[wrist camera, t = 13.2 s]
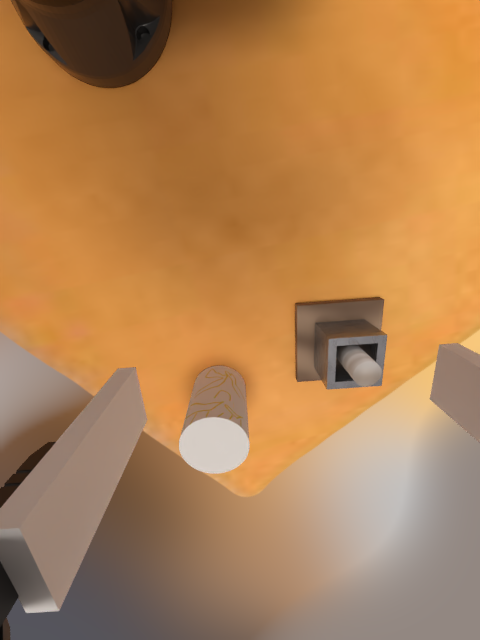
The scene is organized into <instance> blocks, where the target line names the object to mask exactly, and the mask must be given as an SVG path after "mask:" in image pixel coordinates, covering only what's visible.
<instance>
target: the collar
mask: <svg viewBox="0 0 480 640" xmlns="http://www.w3.org/2000/svg"><path fill="white" fill-rule="evenodd" d="M386 341H387V334H385V333H384V332H382V331H381V330H379V329H378V328H377V327H375V326H374V325H372V324H371V323H369V322H368V321H366V320H365V319H359V320H345V321H331V322H317V323H315V339H314V368H315V370H316V371H317V373H318V375H319V377H320V378H321V380H322V382H323V384H324V385H325V387H326V389H340V388H354V387H364V386H360V385H358V384H357V383H356V382H355V381H354V380H353V378H352V377H351V376H350V375H349V373H348V372H347V371H346V370H345V368H344V367H343V366H342V364H341V363H340V362H339V361H338V359H336V351H337V346H344V345H358V346H359V347H360V348H361V349H362V350H363V351H365V352H366V353H367V354H368V355H369V356H370V357H371V358H372V359H373V360H374V361H375V362H376V363H377V364H378V365H379V366H380V367H381V370H382V374H381V377H380V379H379V380H378V381H377V382H376V383H375V384H373V385H371V386H382V377H383V368H384V359H385V350H386ZM366 387H369V386H366Z"/></svg>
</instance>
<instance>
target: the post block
mask: <svg viewBox="0 0 480 640" xmlns="http://www.w3.org/2000/svg"><path fill="white" fill-rule="evenodd" d="M383 306H384V299H382V298H380V297H378V298H365V299H351V300H338V301H324V302H311V303H297V304H295V338H296V379H297V382H302V381H316V380H321V378H320V377H319V375H318V373H317V371H316V370H315V368H314V339H315V323H317V322H331V321H345V320H359V319H365V320H366V321H368V322H369V323H371V324H372V325H374V326H375V327H377V328H378V329H379V330H381V326H382V316H383ZM336 359H338V361H339V362H340V363H341V364H342V366H343V367H344V368H345V370H346V371H347V372H348V373H349V375H350V376H351V377H352V378H353V380H354V381H355V382H356V383H357V384H358V385H360V386H364V387H366V386H371V385H373V384H375V383H376V382H377V381H378V380H379V379H380V377H381V374H382V370H381V367H380V366H379V365H378V364H377V363H376V362H375V361H374V360H373V359H372V358H371V357H370V356H369V355H368V354H367V353H366V352H365V351H363V350H362V349H361V348H360V347H359V346H358V345H344V346H337V351H336Z"/></svg>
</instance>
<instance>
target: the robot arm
mask: <svg viewBox="0 0 480 640" xmlns="http://www.w3.org/2000/svg"><path fill="white" fill-rule="evenodd" d="M11 2H12V4H13V5H14V7H15V9H16V11H17V13H18V15H19V16H20V18H21V20H22V22H23V24H24V25H25V27H26V28H27V30H28V31H29V33H30V34H31V36H32V37H33V38H34V40H35V41H36V42H37V44H38V45H39V46H40V47H41V48H42V49H43V50H44V51H45V52H46V53H47V54H48V55H49V56H50V57H51V58H52V59H53V60H54V61H55V62H56V63H57V64H58V65H59V66H60V67H61V68H63V69H64V70H65V71H66V72H68V73H69V74H70V75H72V76H73V77H75V78H77V79H79V80H81V81H83V82H85V83H87V84H90V85H94V86H98V87H106V88H113V87H120V86H124V85H128V84H130V83H132V82H134V81H136V80H138V79H139V78H141V77H142V76H143V75H145V74H146V73H147V72H148V71H149V70H150V69H151V68H152V67H153V65H154V64H155V63H156V61H157V60H158V58H159V57H160V55H161V53H162V51H163V49H164V46H165V44H166V41H167V38H168V34H169V30H170V24H171V16H172V0H11ZM430 400H431V401H432V402H434V403H435V404H436V405H437V406H438V407H439V408H440V409H442V410H443V411H444V412H445V413H446V414H447V415H448V416H450V417H451V418H452V419H453V420H454V421H455V422H456V423H458V424H459V425H460V426H461V427H462V428H463V429H464V430H466V431H467V432H468V433H469V434H470V435H471V436H472V437H474V438H475V439H476V440H477V441H478V442H479V443H480V355H479V354H477V353H475V352H473V351H471V350H469V349H467V348H465V347H464V346H462V345H460V344H458V343H454V344H441V345H439V350H438V356H437V361H436V368H435V373H434V379H433V384H432V391H431V395H430ZM146 421H147V417H146V412H145V408H144V403H143V399H142V394H141V390H140V385H139V381H138V376H137V372H136V367H133V368H120V369H117V370H116V372H115V373H114V374H113V375H112V376H111V377H110V379H109V380H108V381H107V382H106V383H105V385H104V386H103V387H102V388H101V389H100V391H99V392H98V393H97V394H96V395H95V396H94V398H93V399H92V400H91V401H90V402H89V404H88V405H87V406H86V407H85V409H84V410H83V411H82V412H81V413H80V414H79V416H78V417H77V418H76V419H75V420H74V421H73V423H72V424H71V425H70V426H69V427H68V429H67V430H66V431H65V432H64V433H63V434H62V436H61V437H60V438H59V439H58V441H57V442H48V443H47V444H45V445H44V446H43V447H41V448H40V449H39V450H37V451H36V452H34V453H33V454H32V455H30V456H29V457H28V459H27V460H26V461H25V462H24V463H23V464H22V465H21V466H20V468H19V469H18V470H17V472H16V474H13V475H12V476H11V477H10V478H9V480H8V481H7V482H6V483H5V486H4V487H1V489H0V640H10V626H9V623H8V620H7V618H6V617H7V615H8V614H9V612H10V610H11V608H12V607H13V605H14V603H15V602H16V600H17V598H18V599H19V600H20V602H21V604H22V606H23V608H24V610H25V611H26V613H33V612H48V611H59V610H60V607H61V605H62V603H63V601H64V599H65V597H66V594H67V592H68V590H69V588H70V586H71V584H72V582H73V579H74V577H75V575H76V573H77V571H78V569H79V566H80V564H81V562H82V559H83V558H84V556H85V553H86V551H87V549H88V547H89V544H90V543H91V540H92V538H93V536H94V534H95V532H96V529H97V527H98V525H99V523H100V521H101V519H102V517H103V515H104V512H105V510H106V508H107V506H108V504H109V502H110V499H111V497H112V495H113V493H114V491H115V489H116V486H117V484H118V482H119V480H120V478H121V475H122V473H123V471H124V469H125V467H126V465H127V463H128V460H129V458H130V456H131V454H132V452H133V450H134V447H135V445H136V443H137V441H138V439H139V436H140V434H141V432H142V430H143V428H144V426H145V424H146Z"/></svg>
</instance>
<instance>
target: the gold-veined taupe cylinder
mask: <svg viewBox="0 0 480 640" xmlns="http://www.w3.org/2000/svg"><path fill="white" fill-rule="evenodd" d="M179 450H180V453H181V455H182V457H183V459H184V460H185V461H186V462H187V463H188V464H189V465H190V466H191V467H193V468H195V469H197V470H199V471H202V472H206V473H224V472H228V471H230V470H233V469H235V468H236V467H238V466H239V465H240V464H241V463H242V462H243V461H244V460H245V459H246V457H247V455H248V452H249V432H248V416H247V401H246V386H245V382H244V379H243V378H242V376H241V375H240V374H239V373H238V372H237V371H236V370H234V369H232V368H230V367H227V366H212V367H209V368H207V369H205V370H204V371H202V372H201V373H200V374H199V375H198V377H197V378H196V380H195V383H194V387H193V391H192V395H191V399H190V402H189V406H188V410H187V414H186V417H185V421H184V425H183V429H182V433H181V436H180V440H179Z"/></svg>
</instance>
